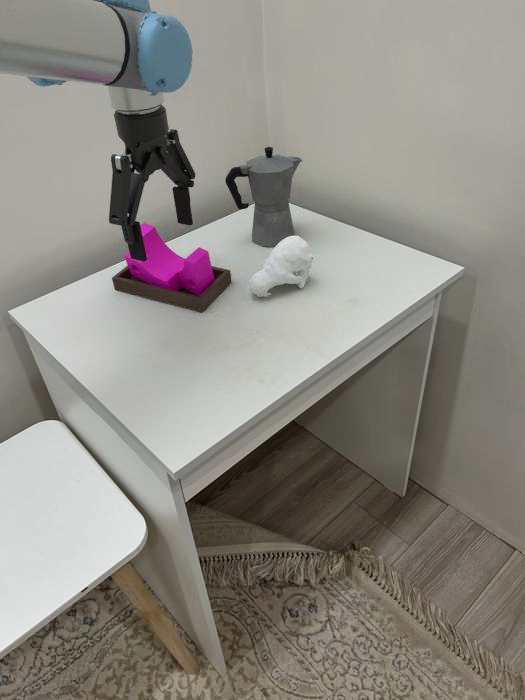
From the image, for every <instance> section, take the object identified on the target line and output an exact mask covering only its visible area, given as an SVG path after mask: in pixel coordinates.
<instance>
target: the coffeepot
mask: <svg viewBox="0 0 525 700" xmlns="http://www.w3.org/2000/svg"><path fill="white" fill-rule="evenodd" d="M273 152H274V147H272V146H266V147H264V153H265V155H258V156H256V157H254V158H251V159H248V160H246V162H245V164H241V165H239V166H235V167H231V169H230V170H229V172H228V173H227V174H226V176H225V179H224V180H225V184H226V186H227V188H228V190H229V192H230V195H231V197H232V199H233V201H234V203H235V206H236V208H237V209H238V210H246V209H248V208H249V206H250V205H249V204H250V203H249V202H247V203H244V202H243V200H242V195H241V194H240V192H239V189H238V185H237V183H236V181H235V180H236V178H246V177H247V179H248V183H249V189H250V193H251V197H252V201H253V202H254V208H253V216H252V217H253V218H252V230H251V242H253V243H254V244H256V245H258V246H261V247H264V248H265V247H266V248H274V247H275V246H276V245H277V244H278V243H279V242H280V241H282V240H283V239H285V238H286V237H289V236H296V235H295V228H294V222H293V218H292V214H291V209H290V202H289V201H290V199H291V192H292V183H293V177H294V175H295V173H296V171H297V169H298V167H299V165H300V163H302V162H303V159H302V158H300V157H299V156H285V155H281V154H273Z"/></svg>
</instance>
